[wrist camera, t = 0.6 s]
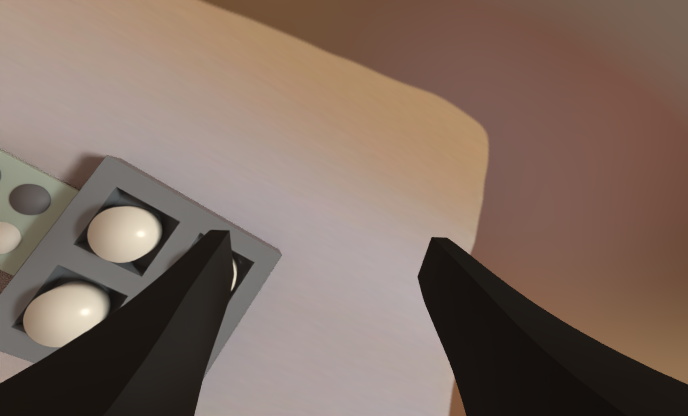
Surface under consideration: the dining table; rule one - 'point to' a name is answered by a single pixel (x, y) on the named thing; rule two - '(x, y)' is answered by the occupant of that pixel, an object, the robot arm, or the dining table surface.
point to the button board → (130, 277)
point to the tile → (27, 209)
